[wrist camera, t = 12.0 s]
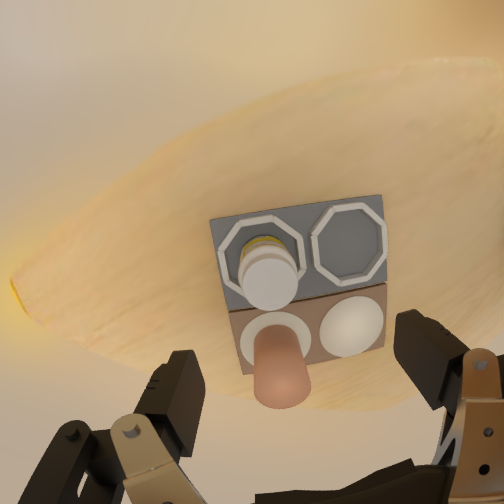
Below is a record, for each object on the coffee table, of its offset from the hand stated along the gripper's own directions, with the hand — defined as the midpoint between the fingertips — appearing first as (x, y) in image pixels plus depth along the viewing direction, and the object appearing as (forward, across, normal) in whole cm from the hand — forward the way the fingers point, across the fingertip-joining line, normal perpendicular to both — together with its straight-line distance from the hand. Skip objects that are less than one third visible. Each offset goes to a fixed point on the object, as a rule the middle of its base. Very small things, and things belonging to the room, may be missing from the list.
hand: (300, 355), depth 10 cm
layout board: (+18, -3, +6) cm, 20 cm away
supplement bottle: (+18, +1, 0) cm, 18 cm away
